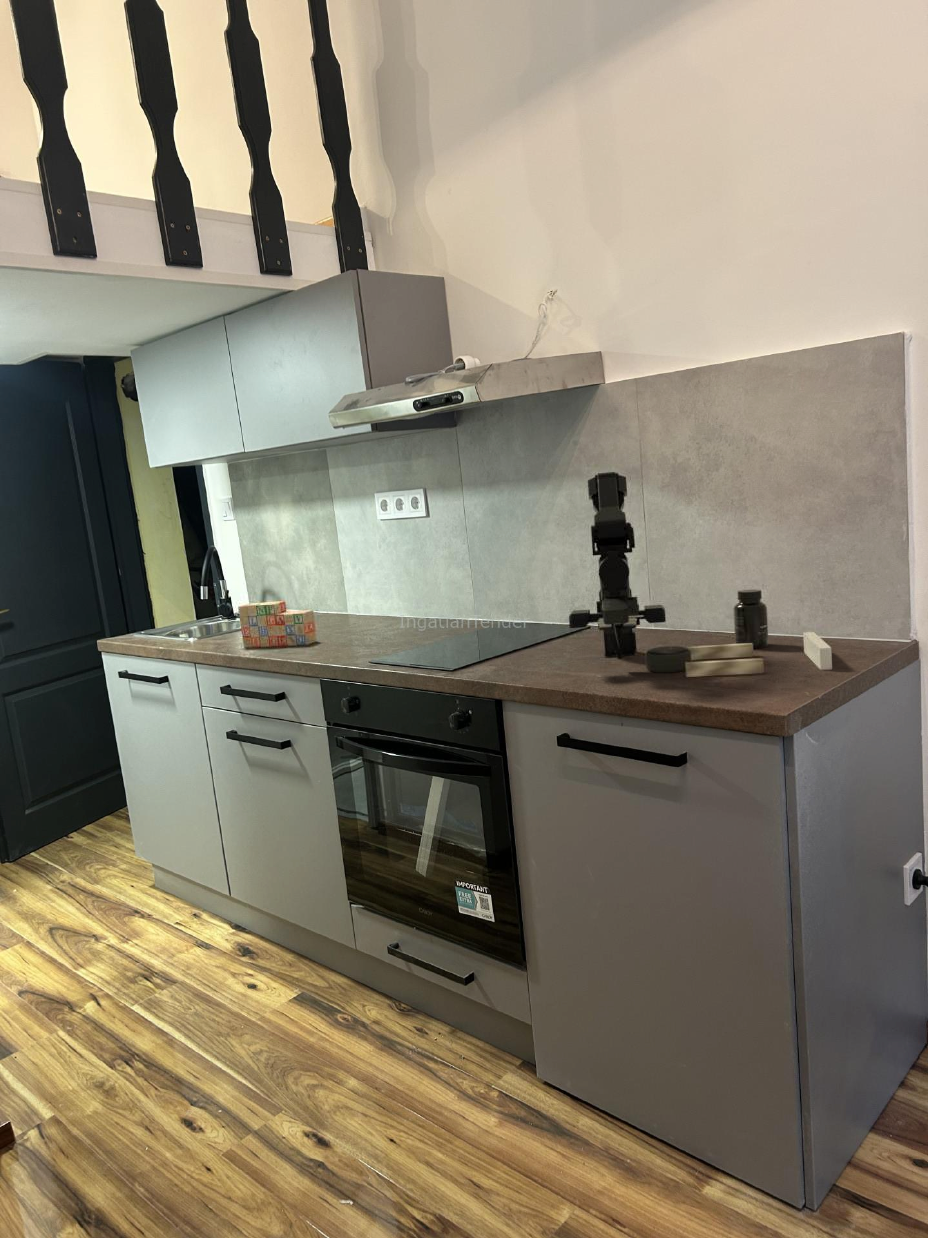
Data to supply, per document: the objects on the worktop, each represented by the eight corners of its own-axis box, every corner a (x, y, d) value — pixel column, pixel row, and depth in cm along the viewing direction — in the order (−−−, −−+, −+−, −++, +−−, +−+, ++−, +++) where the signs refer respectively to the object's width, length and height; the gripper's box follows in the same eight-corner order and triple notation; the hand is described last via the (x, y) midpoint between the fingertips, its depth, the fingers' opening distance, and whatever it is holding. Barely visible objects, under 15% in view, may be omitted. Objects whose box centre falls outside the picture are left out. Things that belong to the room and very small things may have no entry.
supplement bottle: (770, 648, 190) (767, 591, 188) (736, 650, 191) (733, 593, 190) (766, 642, 196) (764, 587, 195) (734, 644, 198) (731, 589, 196)
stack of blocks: (317, 641, 261) (312, 599, 259) (306, 645, 255) (300, 602, 254) (255, 643, 269) (250, 602, 267) (242, 647, 263) (237, 605, 262)
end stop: (820, 669, 166) (819, 648, 166) (804, 652, 183) (803, 632, 182) (832, 669, 166) (831, 647, 165) (814, 651, 182) (813, 631, 182)
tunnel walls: (686, 677, 171) (685, 664, 171) (682, 659, 188) (681, 647, 187) (763, 672, 168) (763, 659, 168) (752, 655, 185) (751, 643, 184)
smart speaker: (698, 665, 181) (697, 645, 180) (682, 675, 174) (680, 654, 173) (656, 664, 186) (655, 645, 186) (639, 673, 179) (637, 653, 178)
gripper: (564, 590, 173) (570, 670, 176) (663, 583, 170) (669, 664, 172) (568, 583, 184) (574, 658, 186) (662, 576, 180) (667, 653, 183)
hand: (620, 658), depth 181 cm, fingers closed
